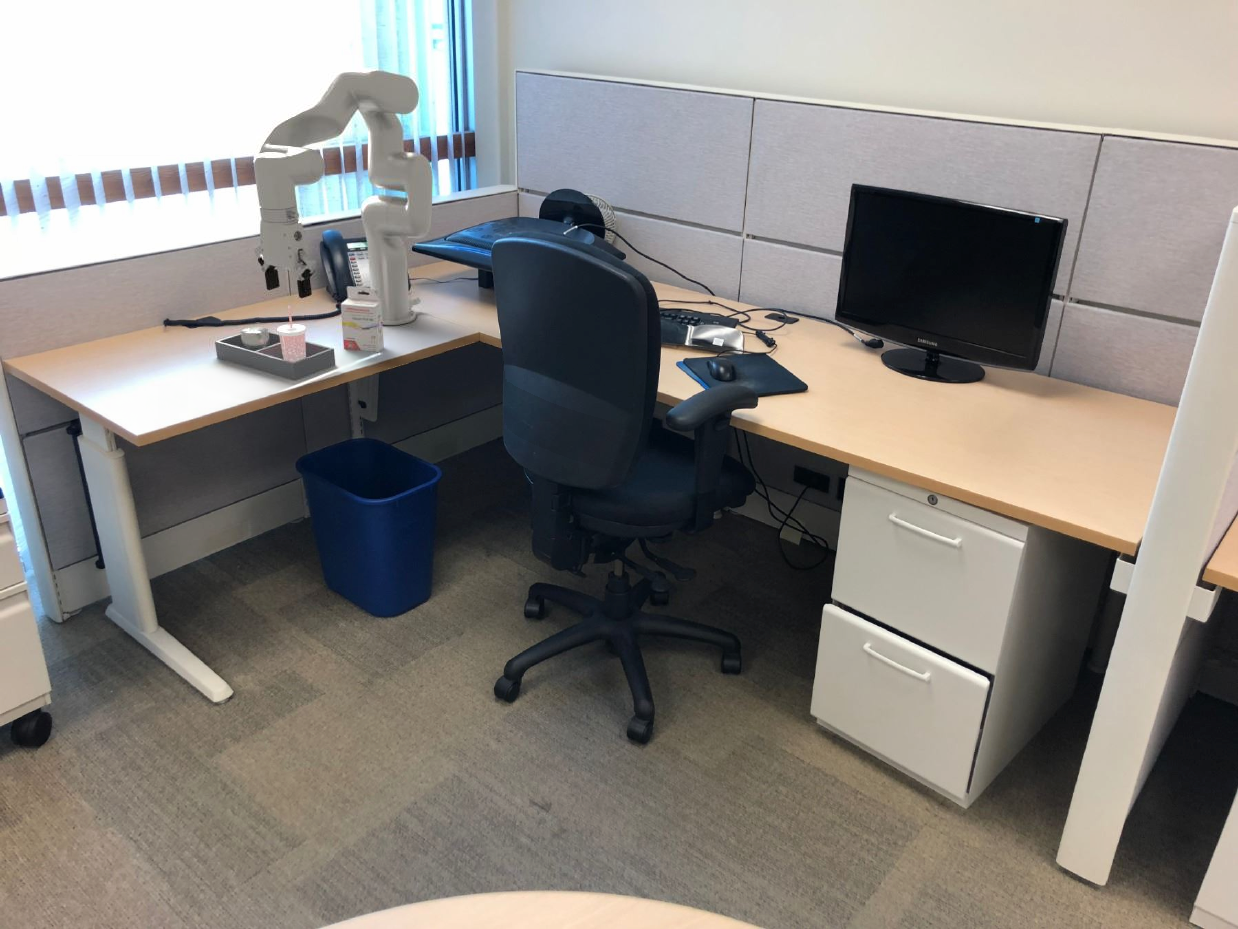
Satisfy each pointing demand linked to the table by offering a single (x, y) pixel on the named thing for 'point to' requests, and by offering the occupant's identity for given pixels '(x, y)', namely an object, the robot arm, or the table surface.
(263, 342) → the metal tin
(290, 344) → the beverage cup
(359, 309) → the ink cartridge box
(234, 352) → the organizer tray
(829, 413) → the table surface
